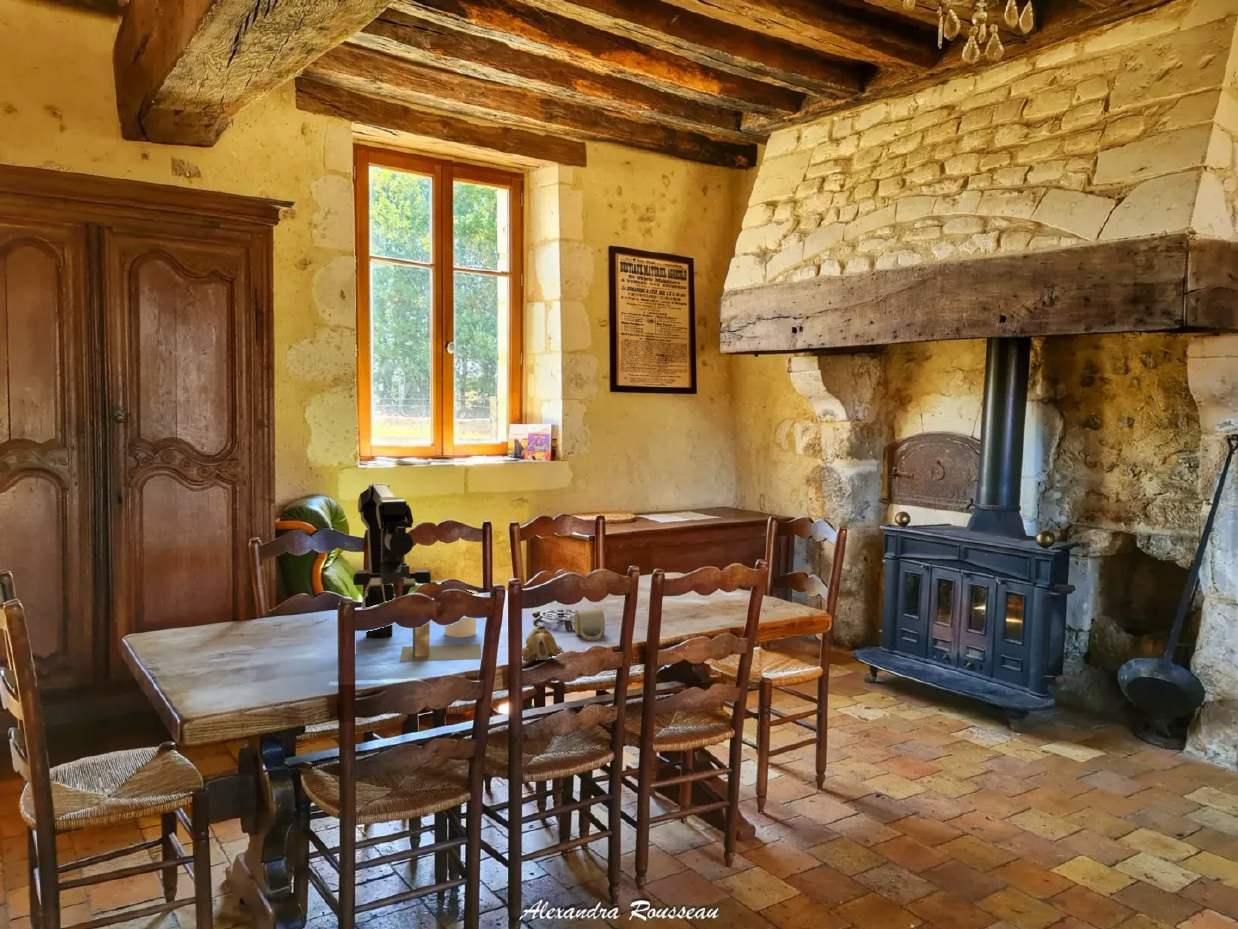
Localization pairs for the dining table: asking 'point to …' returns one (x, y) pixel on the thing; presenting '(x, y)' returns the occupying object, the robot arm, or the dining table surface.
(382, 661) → the dining table surface
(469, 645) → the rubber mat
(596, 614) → the ceramic mug
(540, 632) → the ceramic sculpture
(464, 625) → the candle holder
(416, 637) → the wooden block
